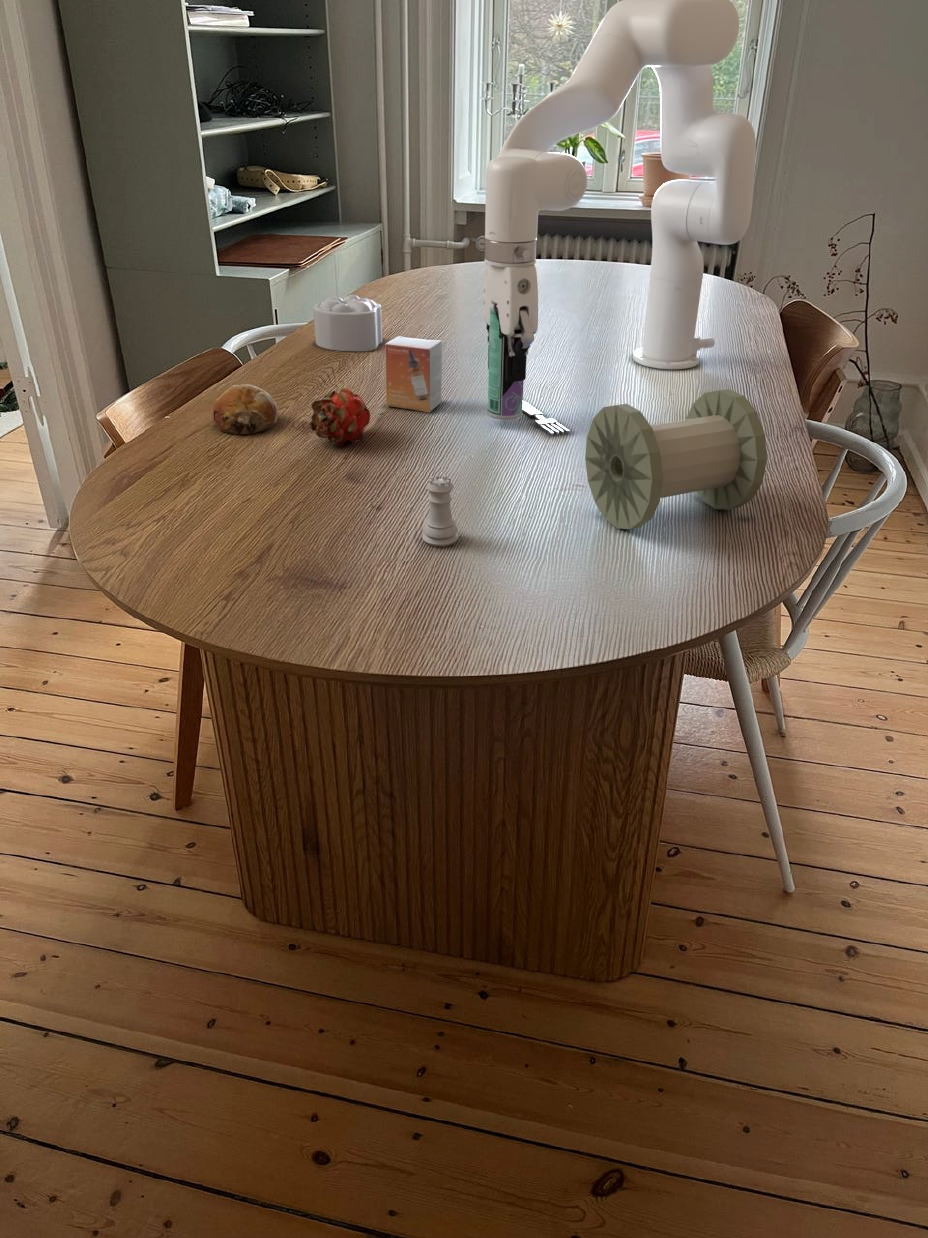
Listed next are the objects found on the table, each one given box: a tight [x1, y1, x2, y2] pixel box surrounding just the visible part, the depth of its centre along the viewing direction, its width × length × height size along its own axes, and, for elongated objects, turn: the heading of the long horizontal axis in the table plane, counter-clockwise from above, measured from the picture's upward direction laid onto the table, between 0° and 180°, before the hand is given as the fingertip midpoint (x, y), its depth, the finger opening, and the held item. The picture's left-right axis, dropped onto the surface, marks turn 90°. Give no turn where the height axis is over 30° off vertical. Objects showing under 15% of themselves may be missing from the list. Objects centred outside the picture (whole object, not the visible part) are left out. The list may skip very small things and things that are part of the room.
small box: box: [384, 335, 443, 413], centre depth 154 cm, size 8×6×10 cm
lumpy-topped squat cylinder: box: [313, 294, 383, 352], centre depth 186 cm, size 10×13×9 cm
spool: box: [584, 388, 768, 530], centre depth 118 cm, size 16×15×15 cm
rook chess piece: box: [421, 474, 459, 548], centre depth 112 cm, size 4×4×8 cm
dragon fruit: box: [309, 387, 371, 447], centre depth 141 cm, size 8×8×12 cm
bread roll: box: [212, 383, 279, 435], centre depth 147 cm, size 10×10×8 cm
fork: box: [522, 399, 570, 437], centre depth 152 cm, size 17×3×1 cm, turn 24°
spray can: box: [487, 300, 525, 421], centre depth 144 cm, size 6×6×20 cm
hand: (506, 373), depth 146 cm, fingers closed on spray can, 5 cm apart
